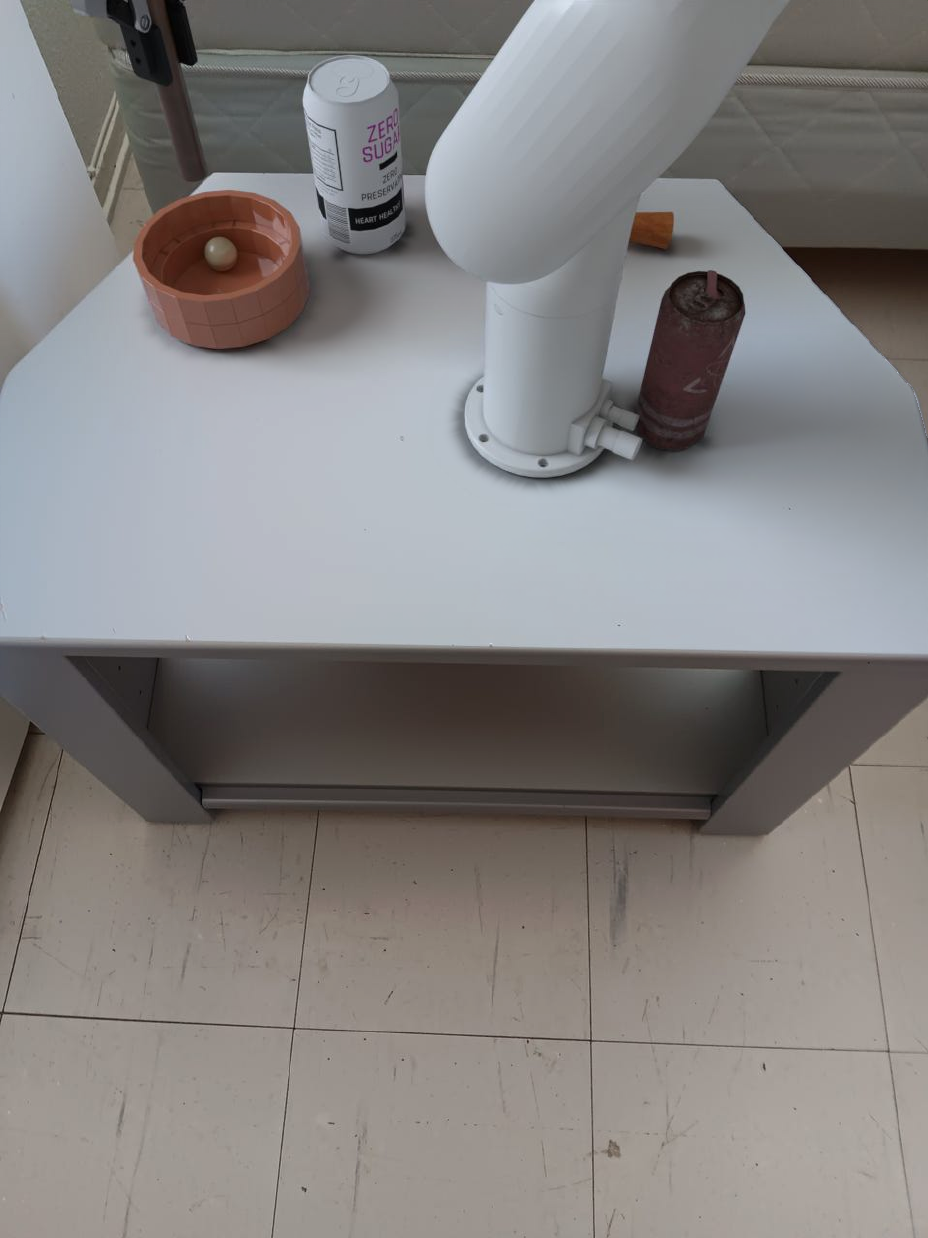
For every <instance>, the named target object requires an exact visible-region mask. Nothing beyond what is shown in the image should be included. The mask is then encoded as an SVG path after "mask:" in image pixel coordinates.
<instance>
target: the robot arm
mask: <svg viewBox="0 0 928 1238" xmlns="http://www.w3.org/2000/svg"><path fill="white" fill-rule="evenodd" d="M164 1H165V5H166V9H167V13H168V17H169V21H170V25H171V29H172V33H173V37H174V41H175V44H176V48H177V52H178V56H179V60H180V64H181V65H182V64H183V65H185V66H190V67H193V66H195V65H196V64H197V63H198V61H199V59H198V54H197V50H196V46H195V41H194V38H193V33H192V28H191V24H190V20H189V16H188V13H187V8H186V6H185V5H184V4H186V3H187V2H188V0H164ZM791 1H792V0H533V1H532V3H531V4H530V6H529V7H528V8H527V10H526V11H525V13H524V14H523V15H522V17H521V18H520V20H519V21H518V23H517V24H516V26H514V29H512V32H511V33H510V35H509V36H508V38H507V39H506V40H505V41H504V43H503V45H502V46H501V48H500V49H499V51H498V52H497V53H496V55H495V57H494V58H493V60H492V61H491V62H490V64H489V65H488V67H487V68H486V70H485V71H484V72H483V74H482V75H481V77H480V78H479V80H478V81H477V83H476V84H475V85H474V87H473V88H472V90H471V92H470V93H469V94H468V96H467V97H466V99H465V100H464V102H463V103H462V105H460V108H459V109H458V110H457V112H456V113H455V114H454V116H453V118H452V119H451V120H450V122H449V124H448V125H447V127H446V128H444V131H443V132H442V134H441V136H439V138H438V140H437V142H436V143H435V146H434V148H433V149H432V152H431V155H430V156H429V159H428V160H429V161H428V163H427V167H426V173H425V182H424V201H425V202H424V203H425V208H426V214H427V219H428V222H429V224H430V227H431V230H432V233H433V235H434V238H435V239H436V241H437V243H438V244H439V247H441V250H443V252H444V253H445V254H446V256H447V257H448V258H449V259H450V260H451V261H452V262H453V263H454V265H456V266H457V267H458V268H459V269H461V270H463V271H464V272H466V273H467V274H469V275H471V276H472V277H474V278H477V279H479V280H482V281H485V282H486V289H485V290H486V292H485V321H484V322H485V323H484V330H485V331H484V359H483V362H484V363H483V375H482V377H480V379H478V380H477V381H476V383H474V385H473V386H472V388H471V390H470V391H469V392H468V396H467V398H466V401H465V406H464V427H465V430H466V433H467V437H468V439H469V441H470V442H471V444H472V446H473V448H474V449H475V450H476V451H477V452H478V453H479V454H480V456H481V457H483V458H484V459H485V460H487V461H488V462H489V463H491V464H492V465H494V466H496V467H497V468H499V469H501V470H504V471H505V472H509V473H512V474H514V475H517V476H522V477H530V478H553V477H561V476H564V475H568V474H571V473H574V472H577V471H578V470H580V469H583V468H585V467H587V466H588V465H590V463H592V462H593V461H595V459H596V460H597V458H598V457H599V456H600V455H601V454H602V452H603V451H604V450H605V449H606V450H608V451H611V452H612V453H613V454H615V455H618V456H620V457H623V458H625V459H628V460H630V461H634V460H635V458H636V457H637V455H638V453H639V451H640V449H641V445H642V442H643V438H642V437H641V436H637V435H635V434H632V433H631V432H630V433H629V432H627V431H625V430H622V429H621V430H619V429H617V428H615V427H614V426H613V425H614V424H617V425H618V426H619V427H622V428H625V429H627V430H630V431H634V430H635V429H636V425H637V422H638V420H639V415H637V414H635V412H633V411H630V410H628V409H622V408H620V407H617V406H615V402H614V401H613V400H611V399H610V398H611V397H610V396H611V392H612V386H613V383H612V382H611V381H609V380H606V379H603V378H604V373H605V368H606V367H605V366H606V361H607V357H608V351H609V345H610V339H611V335H612V328H613V324H614V319H615V313H616V307H617V303H618V298H619V297H618V296H619V291H620V286H621V283H622V278H623V273H624V267H625V262H626V258H627V252H628V247H629V243H630V241H629V238H630V234H631V229H632V225H633V221H634V217H635V213H636V212H637V210H638V206H639V203H640V199H641V196H642V194H643V193H644V192H645V191H646V190H647V189H648V188H649V187H650V186H651V185H652V184H654V182H655V181H656V180H658V178H659V177H660V176H661V175H663V174H664V173H665V172H666V171H667V170H668V169H669V168H670V167H671V166H672V165H673V164H674V163H675V161H676V160H677V159H678V158H680V156H681V155H682V154H683V153H684V152H685V151H686V149H687V148H688V147H689V146H690V145H691V144H692V143H693V142H694V140H695V139H696V137H697V136H698V135H699V134H700V133H701V132H702V131H703V129H704V128H705V127H706V126H707V124H708V123H709V121H710V120H711V119H712V118H713V117H714V115H715V113H716V112H717V111H718V109H719V107H720V106H721V105H722V103H723V102H724V100H725V99H726V97H727V96H728V94H729V92H731V90H732V88H733V87H734V85H735V83H736V82H737V80H738V79H739V77H740V76H741V74H742V73H743V72H744V70H745V68H746V67H747V65H748V64H749V62H750V61H751V60H752V57H754V55H755V53H756V52H757V50H758V48H759V47H760V45H761V44H762V42H763V40H764V39H765V37H766V36H767V34H768V32H769V30H770V29H771V27H773V25H774V23H775V21H776V20H777V18H778V17H779V15H780V14H781V13H782V12H783V11H784V9H785V8H786V7H787V6H788V4H789V3H791ZM69 3H70V8H71V10H72V12H74V13H77V14H79V15H82V16H85V17H88V18H108V19H109V20H110V22H112V23H114V24H117V25H119V28H120V32H121V34H122V37H123V41H124V45H125V47H126V52H127V54H128V58H129V61H130V64H131V67H132V71H133V73H134V75H135V76H136V77H138V78H139V79H143V80H146V81H148V82H151V83H154V84H155V83H157V84H159V85H162V86H165V87H168V86H169V85H171V84H172V83H173V75H172V71H171V67H170V63H169V59H168V56H167V52H166V48H165V44H164V41H163V37H162V33H161V30H160V28H159V27H158V26H156V25H153V24H151V17H150V13H149V9H148V5H147V1H146V0H69Z"/></svg>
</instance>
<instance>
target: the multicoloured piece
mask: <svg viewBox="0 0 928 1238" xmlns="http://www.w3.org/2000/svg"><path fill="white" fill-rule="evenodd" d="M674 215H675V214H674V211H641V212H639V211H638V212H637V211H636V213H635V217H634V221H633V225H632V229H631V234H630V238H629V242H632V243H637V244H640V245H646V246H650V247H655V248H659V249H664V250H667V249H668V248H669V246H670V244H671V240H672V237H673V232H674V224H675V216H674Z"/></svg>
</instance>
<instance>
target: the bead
mask: <svg viewBox="0 0 928 1238" xmlns="http://www.w3.org/2000/svg"><path fill="white" fill-rule="evenodd" d="M204 255H205V259H206V261H207V263H208V264H209V265H210V266H211V267H212V268H213V269H215V270H218V271H227V270H229V269H231V268H232V267H233V266H234V265H235V263H236V261H237V250H236V247H235V246H234V244H233V243H232V242H231V241H230V240H228V239H227V238H224V237H215V238H212V239H211V240H209V241H208V243H207V244H206V246H205V250H204Z"/></svg>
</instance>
